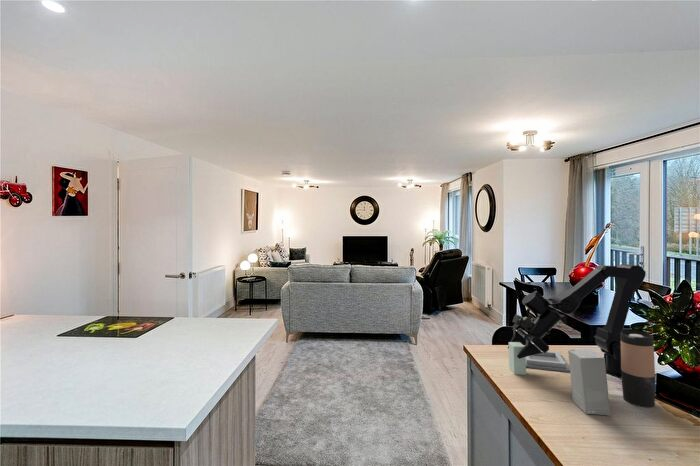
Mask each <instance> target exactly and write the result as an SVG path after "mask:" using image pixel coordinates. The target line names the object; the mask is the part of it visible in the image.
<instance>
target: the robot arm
mask: <svg viewBox="0 0 700 466" xmlns="http://www.w3.org/2000/svg"><path fill="white" fill-rule="evenodd" d="M646 275H647V274H646V270H645V269H644V267H642V266H640V265H637V264H627V263H621V264H619V265H605V264H598V265H596V266H595V268H594V269H593V270H592V271H590V273H588V274H587V275H585V276H584V277H583V278H582V279H581V280H580V281H578V282H577V283H576V284H575V285H573V286H572V287H571V288H569V289H567V290H564V291H561V292H560V293H558V294H556V295H554V296H553V297H552V298H545V297H544V296H543V295H542V294H541V293H540V292H539V291H537V290H534V291H533V292H531V293H528V294H527V295H525V296H524V297H523V298H522V300H521V303H522V305H524V306H525V307H526V308H527V310H529V311H530V312H531V313H532V314H534V315H538V316H537V317H531V318H530V317H527V316H524V317H523V316H521V315H519V314H516V313H515V315H514V316H513V319H512V322H511V323H514V324H513V325H511V326H512V331H513V335H512V338H511V340H510V341H509V342H520V343H521V344H523V345H524V347H523V349H522V350H521V351H520V352H519V354H518V355H517V357H518V358H519V359H520V358H524V357H527V356H531V355H535V354H539V353H541V354H542V352H544V353H546V352H547V351H549V350H550V345H548V343H547V342H546V341H544V340H543V339H542V338H543V337H545V336H546V334H547V335H550V334H551V333H552V331H551V330H552V329H553V328H554V327H555V326H556V325H557V324H558V323H559V322H560V323H562V324H564V325H567V316H566V314H567V315H570V314H572V313H575V311H576V310H577V309H578V308H579V306H580V305H581V303H582V301H583V299H584V298H585V297H586V296H587V295H589V294H590V293H591V292H593V290H595V289H596V288H597V287H598V286H600V285H601V284H602V283H603V282H604V281H605V280H607V279H608V278H610V277H611V278H614V283H615V285H616V288H615V290H614V291H615V292H614V296H613V298H612V302H611V306H610V309H609V313H608V317H607V320H606V322H605V325H604V326H602V327H598V326H597V328H596V332H595V335H594V336H593V338H595V340H594V341H595V344H596V346H597V347H598V348H599V349H600V351H601V353H603V356H602V357H603V358H605V366H606V374H608V375H611V376H614V377H617V378H621V379H622V374H621V334H620V333H621V331H624V328H625V324H626V320H627V318H628V314H629V310H630V307H629V306H628V305H627V302H628V301H629V302H631V303H632V300H633V296H634V293H635V291H636V290H637V289H638V288H640V286H641V285H642V284H643V282H644V280H645V278H646ZM551 308H552V309H551ZM559 312H560V313H563V314H560V313H559ZM564 314H565V315H564ZM507 349H508V350H509V344H508V346H507ZM541 351H542V352H541Z"/></svg>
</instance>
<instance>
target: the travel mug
mask: <svg viewBox="0 0 700 466" xmlns="http://www.w3.org/2000/svg"><path fill="white" fill-rule="evenodd" d="M620 334H621V374H622V377H621V387H622V396H623V400H624V401H626V402H627V403H629V404H632V405H634V406H638V407H643V408H652V407H654V406H655V403H656V401H655V400H656V367H655V364H656V363H655V342H654V335H652V334H650V333H647V332H644V331H643V332H642V331H637V330H623V331H621V333H620Z"/></svg>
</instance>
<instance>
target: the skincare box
mask: <svg viewBox="0 0 700 466" xmlns="http://www.w3.org/2000/svg"><path fill="white" fill-rule="evenodd" d="M567 354H568V361H569V363H568V365H569V366H570V372H569V373H570V383H571V395H572V396H571V397H572V402H574V403H575V405H577V406H578V407H579V408H580V410H582V411H583V412H584V414H586V415H603V416H611V406H610V397H609V386H608V379H607V378H608V377H607V373H606V366H605V358H603V357H604V356H602V355H600V354H598V353H596V352H595V351H593V350H591V349H568V350H567Z"/></svg>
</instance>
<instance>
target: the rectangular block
mask: <svg viewBox="0 0 700 466" xmlns="http://www.w3.org/2000/svg"><path fill="white" fill-rule="evenodd" d="M508 345H509V349H508V365H509V366H508V367H509V370H510V371H511V372H512V373H513V375H527V367H526V357H524V358H520V359H519V358H518V357H517V355H518V354H519V352H520V351H521V350H522V349H523V347H524V346H525V344H524V343H523V344H521V343H520V342H510V341H508Z"/></svg>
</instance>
